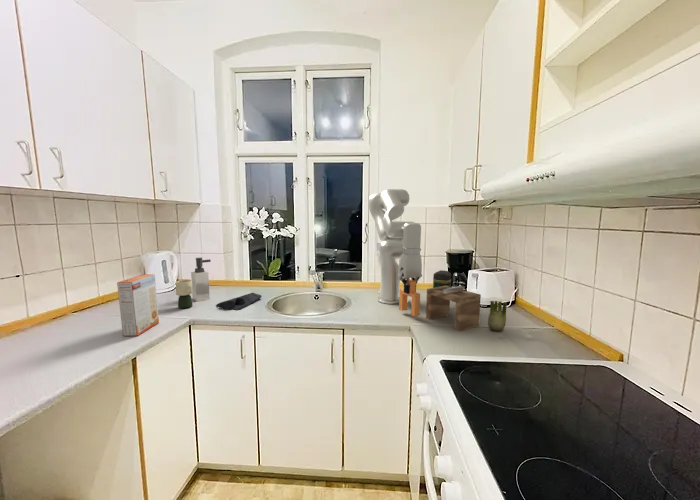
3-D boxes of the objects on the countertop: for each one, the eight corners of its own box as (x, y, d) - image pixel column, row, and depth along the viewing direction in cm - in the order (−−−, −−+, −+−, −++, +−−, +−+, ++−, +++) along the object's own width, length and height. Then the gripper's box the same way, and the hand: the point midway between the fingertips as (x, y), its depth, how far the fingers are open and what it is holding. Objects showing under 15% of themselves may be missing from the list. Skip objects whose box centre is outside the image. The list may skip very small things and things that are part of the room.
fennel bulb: (506, 331, 123) (508, 301, 122) (500, 334, 120) (502, 303, 119) (491, 326, 128) (493, 298, 126) (485, 329, 125) (487, 300, 123)
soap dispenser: (214, 298, 167) (212, 257, 165) (196, 301, 162) (194, 259, 159) (209, 296, 172) (207, 256, 169) (192, 299, 166) (190, 257, 164)
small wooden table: (425, 317, 138) (427, 285, 136) (444, 313, 145) (446, 282, 143) (459, 331, 123) (461, 294, 121) (478, 325, 129) (480, 290, 128)
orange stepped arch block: (399, 309, 144) (400, 278, 142) (404, 308, 145) (405, 277, 143) (414, 316, 135) (415, 283, 133) (419, 314, 137) (420, 282, 135)
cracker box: (145, 323, 131) (141, 273, 128) (159, 323, 131) (156, 273, 128) (121, 336, 117) (116, 281, 114) (137, 336, 117) (132, 281, 114)
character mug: (199, 307, 152) (197, 280, 151) (185, 311, 146) (183, 283, 145) (185, 303, 158) (183, 278, 156) (171, 307, 152) (169, 281, 150)
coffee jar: (447, 313, 144) (449, 273, 142) (430, 310, 148) (431, 272, 145) (451, 307, 153) (452, 270, 151) (434, 305, 156) (436, 268, 154)
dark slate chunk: (266, 300, 167) (266, 291, 166) (236, 312, 147) (236, 302, 146) (244, 296, 173) (243, 288, 172) (212, 308, 153) (211, 298, 152)
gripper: (418, 249, 144) (417, 288, 146) (391, 251, 135) (389, 293, 138) (431, 251, 137) (429, 292, 140) (402, 254, 129) (401, 297, 132)
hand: (409, 292), depth 139 cm, fingers closed on orange stepped arch block, 3 cm apart
